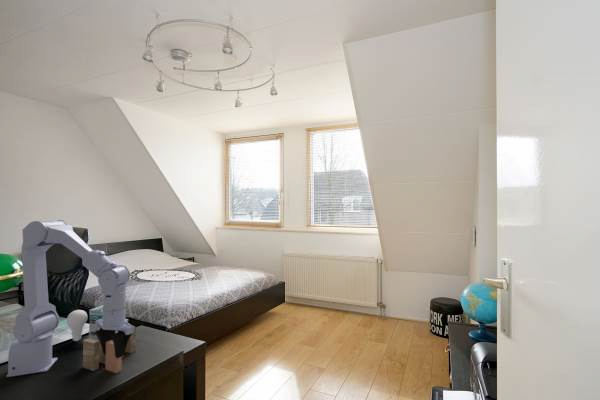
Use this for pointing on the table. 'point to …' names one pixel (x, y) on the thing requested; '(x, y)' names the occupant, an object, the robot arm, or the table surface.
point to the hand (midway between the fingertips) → (113, 354)
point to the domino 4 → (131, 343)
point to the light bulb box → (94, 320)
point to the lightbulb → (77, 323)
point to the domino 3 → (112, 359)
